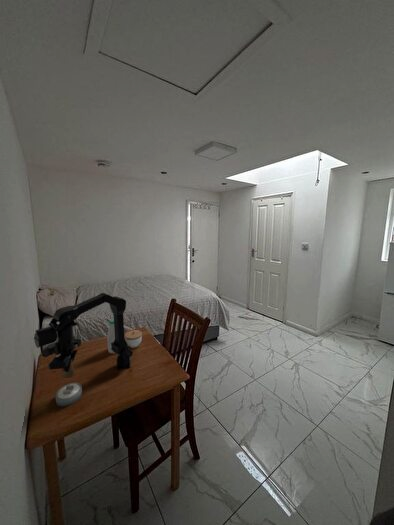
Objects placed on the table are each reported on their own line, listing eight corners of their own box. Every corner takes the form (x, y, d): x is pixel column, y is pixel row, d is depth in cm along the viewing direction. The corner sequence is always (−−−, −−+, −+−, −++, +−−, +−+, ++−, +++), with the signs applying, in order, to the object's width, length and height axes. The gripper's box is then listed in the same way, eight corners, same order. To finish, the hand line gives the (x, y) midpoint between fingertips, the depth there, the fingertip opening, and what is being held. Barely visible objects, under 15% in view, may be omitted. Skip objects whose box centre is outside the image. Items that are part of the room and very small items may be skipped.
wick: (73, 375, 94) (72, 360, 93) (72, 377, 93) (71, 362, 91) (63, 376, 93) (62, 361, 92) (62, 378, 92) (61, 363, 91)
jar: (85, 387, 100) (84, 379, 99) (77, 404, 90) (76, 395, 89) (62, 390, 98) (61, 381, 97) (51, 407, 88) (50, 398, 88)
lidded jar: (122, 344, 137) (121, 331, 135) (137, 339, 144) (137, 326, 142) (129, 351, 129) (129, 337, 127) (145, 345, 136) (144, 332, 135)
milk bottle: (113, 355, 125) (111, 323, 122) (105, 351, 129) (103, 320, 126) (124, 349, 132) (122, 319, 128) (116, 345, 136) (114, 316, 132)
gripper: (54, 328, 98) (57, 359, 100) (31, 351, 79) (35, 388, 82) (80, 327, 100) (82, 357, 102) (64, 348, 82) (66, 384, 84)
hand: (67, 370), depth 92 cm, fingers closed on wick, 1 cm apart
